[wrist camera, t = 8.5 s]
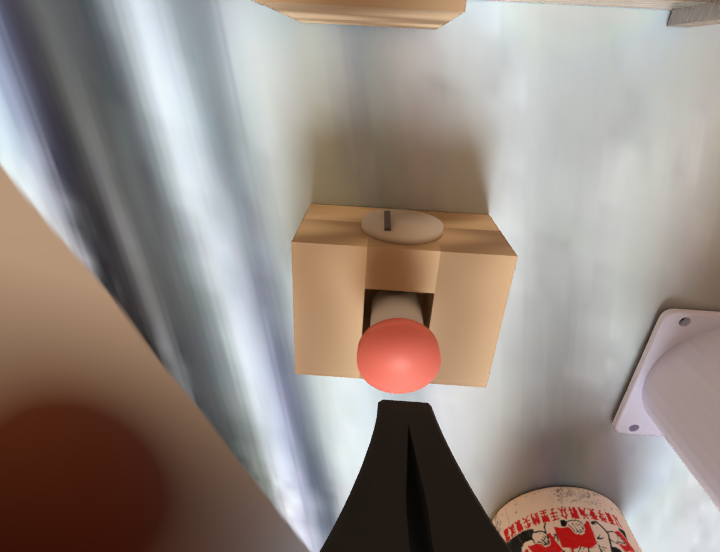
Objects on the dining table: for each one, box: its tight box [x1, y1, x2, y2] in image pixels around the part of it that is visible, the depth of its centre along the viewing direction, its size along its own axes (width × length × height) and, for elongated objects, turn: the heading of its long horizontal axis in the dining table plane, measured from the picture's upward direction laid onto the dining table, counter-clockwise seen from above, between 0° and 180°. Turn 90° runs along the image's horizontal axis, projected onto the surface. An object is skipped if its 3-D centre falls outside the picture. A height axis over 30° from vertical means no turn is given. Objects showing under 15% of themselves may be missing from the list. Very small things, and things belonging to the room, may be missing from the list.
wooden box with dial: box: [292, 204, 518, 387], centre depth 18 cm, size 8×6×4 cm
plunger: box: [357, 290, 441, 394], centre depth 16 cm, size 3×3×4 cm
